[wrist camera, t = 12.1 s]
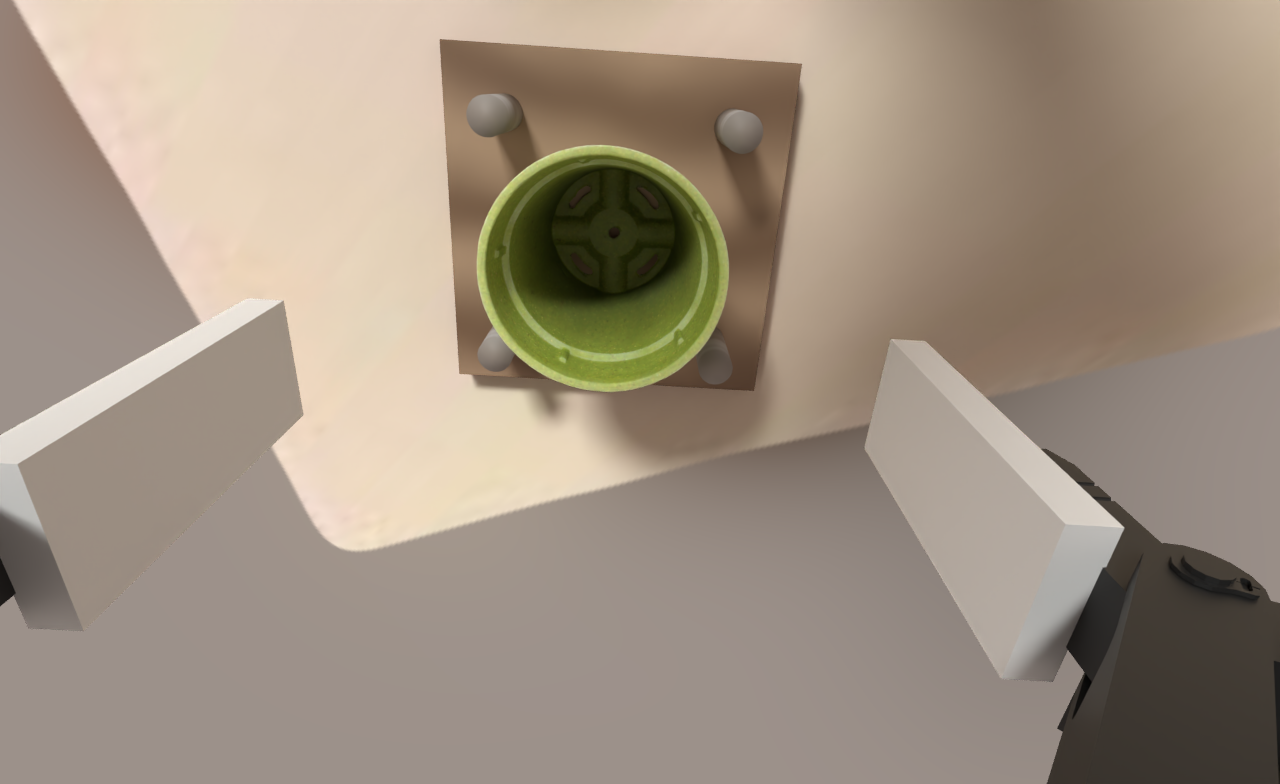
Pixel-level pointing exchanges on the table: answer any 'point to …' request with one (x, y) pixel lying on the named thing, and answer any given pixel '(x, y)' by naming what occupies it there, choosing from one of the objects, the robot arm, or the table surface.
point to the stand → (635, 119)
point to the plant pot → (602, 269)
